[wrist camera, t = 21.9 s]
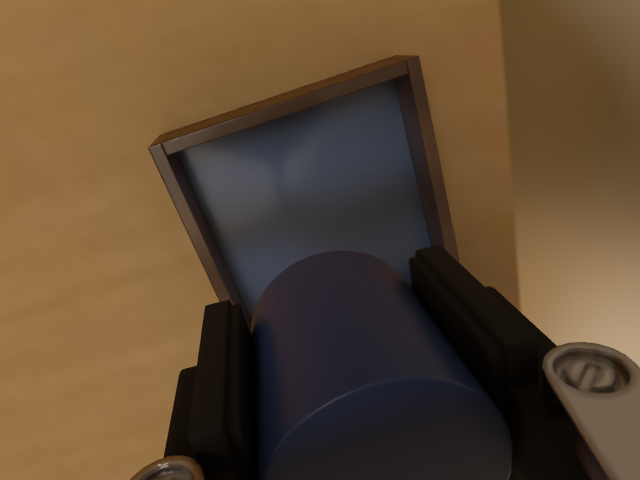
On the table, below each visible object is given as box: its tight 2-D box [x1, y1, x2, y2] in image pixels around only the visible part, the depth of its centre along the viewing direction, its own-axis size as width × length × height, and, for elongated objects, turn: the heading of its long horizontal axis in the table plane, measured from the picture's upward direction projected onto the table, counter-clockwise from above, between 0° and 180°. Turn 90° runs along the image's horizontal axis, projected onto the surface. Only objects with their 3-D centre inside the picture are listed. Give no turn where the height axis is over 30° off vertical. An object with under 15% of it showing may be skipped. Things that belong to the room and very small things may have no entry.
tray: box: [148, 55, 459, 335], centre depth 26 cm, size 25×12×3 cm, turn 17°
